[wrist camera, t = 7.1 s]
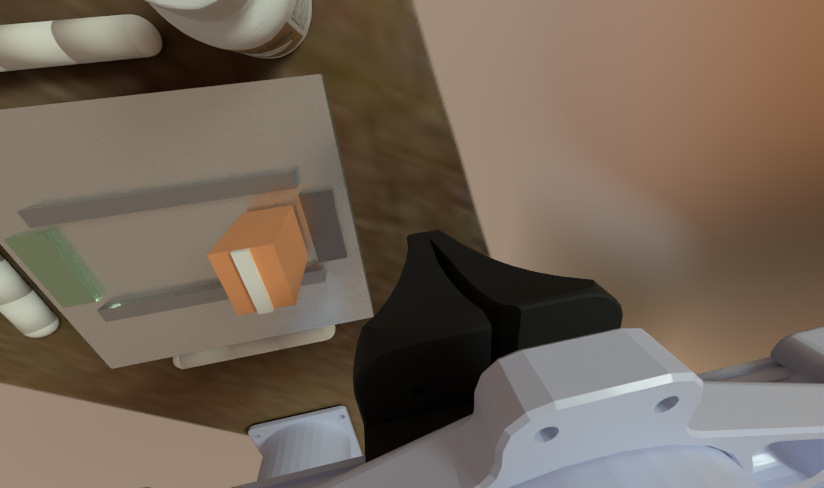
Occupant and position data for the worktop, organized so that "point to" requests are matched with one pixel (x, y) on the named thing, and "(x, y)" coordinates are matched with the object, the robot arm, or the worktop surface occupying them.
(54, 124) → the breaker panel
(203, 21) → the pill bottle
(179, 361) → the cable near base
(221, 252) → the lever
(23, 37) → the rod
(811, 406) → the robot arm
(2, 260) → the rod
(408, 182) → the worktop surface
